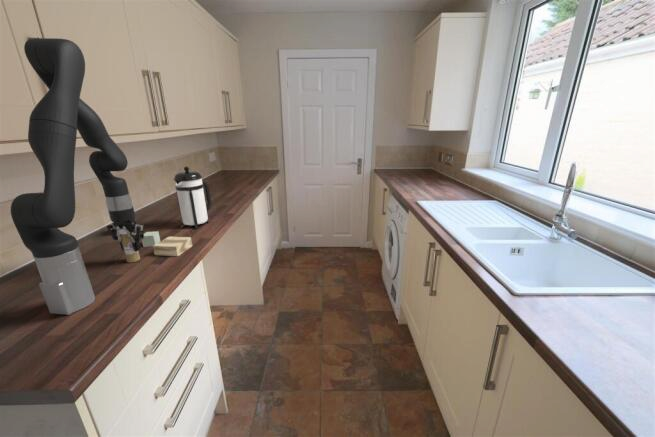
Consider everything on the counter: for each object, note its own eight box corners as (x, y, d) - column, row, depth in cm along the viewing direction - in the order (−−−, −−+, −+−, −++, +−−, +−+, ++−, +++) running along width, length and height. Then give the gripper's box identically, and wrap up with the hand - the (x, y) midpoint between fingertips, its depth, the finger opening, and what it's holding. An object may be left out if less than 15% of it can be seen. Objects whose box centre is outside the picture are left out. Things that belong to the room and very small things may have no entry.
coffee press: (214, 226, 145) (205, 167, 135) (179, 231, 139) (167, 169, 130) (213, 217, 160) (205, 163, 151) (181, 220, 155) (171, 165, 145)
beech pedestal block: (177, 256, 113) (176, 246, 112) (154, 255, 114) (152, 245, 113) (192, 245, 122) (190, 237, 121) (171, 244, 124) (169, 236, 123)
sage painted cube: (155, 246, 123) (153, 235, 121) (143, 247, 122) (140, 236, 121) (160, 241, 128) (158, 231, 126) (148, 242, 127) (146, 232, 126)
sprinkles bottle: (131, 263, 107) (122, 230, 103) (124, 261, 110) (115, 228, 105) (143, 259, 111) (135, 226, 107) (136, 256, 113) (128, 224, 109)
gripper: (93, 209, 101) (106, 253, 106) (130, 210, 99) (141, 255, 105) (111, 203, 108) (122, 245, 114) (145, 204, 106) (155, 247, 112)
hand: (131, 250), depth 109 cm, fingers closed on sprinkles bottle, 4 cm apart
